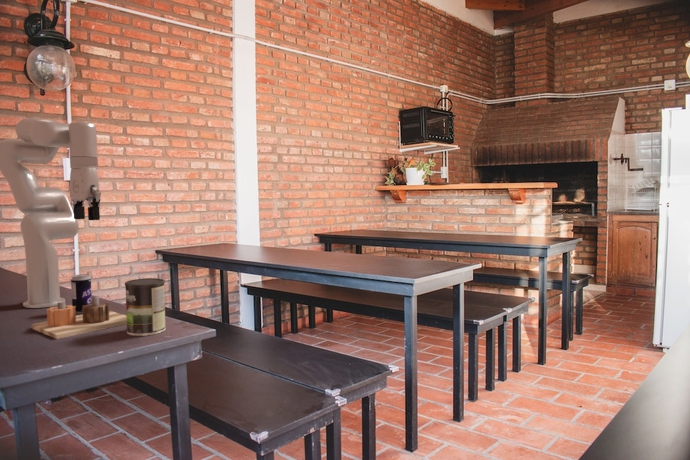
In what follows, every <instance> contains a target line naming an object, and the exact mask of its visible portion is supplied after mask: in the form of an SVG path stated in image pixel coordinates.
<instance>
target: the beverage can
mask: <svg viewBox="0 0 690 460" xmlns="http://www.w3.org/2000/svg"><path fill="white" fill-rule="evenodd" d="M70 287H71V305H72V306H75V311H76V314H77V315H83V312H82V306H83V305H88V304H92V300H91V297H92V296H93V295H92V294H93V293H92V279H91V277H90V274H82V273H81V274H74V275H72V276H71V279H70Z"/></svg>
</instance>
